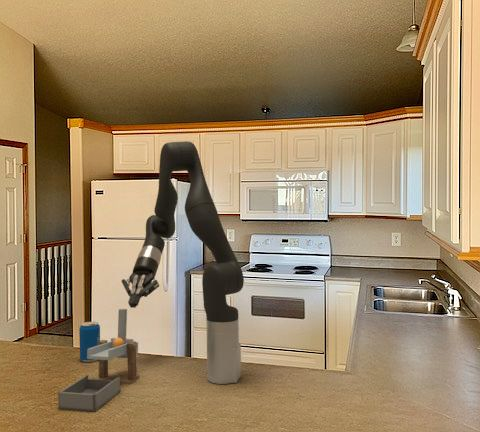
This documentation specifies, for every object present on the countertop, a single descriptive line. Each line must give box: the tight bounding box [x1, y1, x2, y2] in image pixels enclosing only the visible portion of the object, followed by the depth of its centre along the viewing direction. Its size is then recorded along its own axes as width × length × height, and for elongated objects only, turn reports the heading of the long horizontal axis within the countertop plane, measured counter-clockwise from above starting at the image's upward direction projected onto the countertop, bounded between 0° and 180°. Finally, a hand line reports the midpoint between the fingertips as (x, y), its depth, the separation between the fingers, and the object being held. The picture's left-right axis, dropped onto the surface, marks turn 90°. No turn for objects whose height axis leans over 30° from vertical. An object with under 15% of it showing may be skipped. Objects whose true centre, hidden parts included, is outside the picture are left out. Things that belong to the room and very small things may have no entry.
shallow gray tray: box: [57, 374, 121, 413], centre depth 123 cm, size 10×13×4 cm
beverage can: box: [79, 321, 101, 363], centre depth 157 cm, size 6×6×12 cm
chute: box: [87, 308, 139, 361], centre depth 137 cm, size 7×18×14 cm, turn 167°
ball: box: [113, 337, 124, 348], centre depth 139 cm, size 3×3×3 cm
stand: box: [97, 339, 140, 385], centre depth 138 cm, size 12×5×11 cm, turn 77°
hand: (132, 306), depth 148 cm, fingers closed
